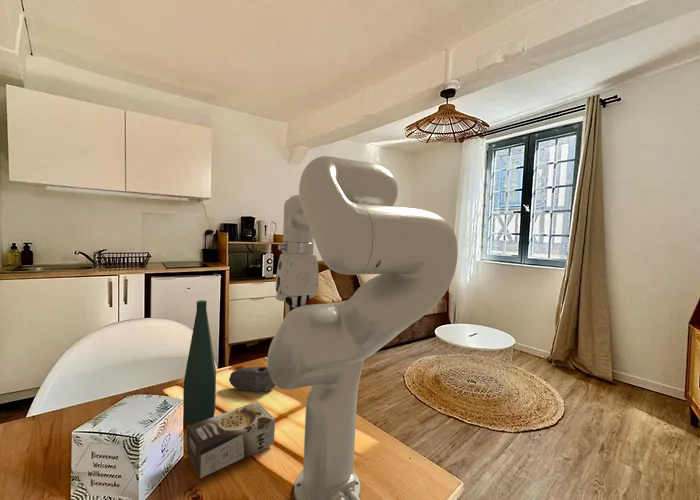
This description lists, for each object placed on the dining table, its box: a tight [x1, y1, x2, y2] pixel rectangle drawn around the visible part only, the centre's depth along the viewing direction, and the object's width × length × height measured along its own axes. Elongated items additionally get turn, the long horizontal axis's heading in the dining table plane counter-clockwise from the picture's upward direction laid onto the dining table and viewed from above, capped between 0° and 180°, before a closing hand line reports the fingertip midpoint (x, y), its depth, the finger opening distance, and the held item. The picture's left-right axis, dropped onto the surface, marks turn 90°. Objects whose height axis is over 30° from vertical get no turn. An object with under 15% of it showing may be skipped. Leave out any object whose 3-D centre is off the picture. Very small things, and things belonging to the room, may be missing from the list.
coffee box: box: [186, 401, 276, 479], centre depth 69 cm, size 9×6×16 cm
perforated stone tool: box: [228, 366, 276, 392], centre depth 96 cm, size 15×5×7 cm, turn 86°
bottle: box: [182, 300, 217, 425], centre depth 81 cm, size 8×8×30 cm
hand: (295, 321), depth 79 cm, fingers closed
